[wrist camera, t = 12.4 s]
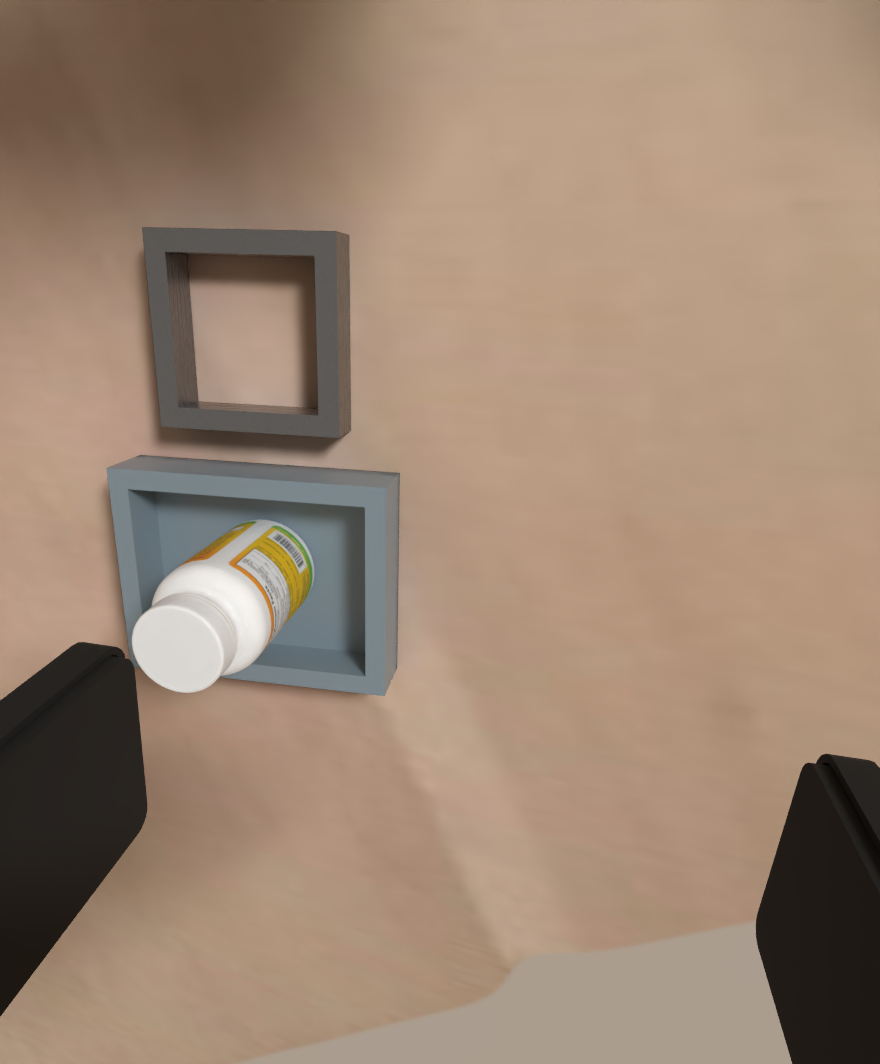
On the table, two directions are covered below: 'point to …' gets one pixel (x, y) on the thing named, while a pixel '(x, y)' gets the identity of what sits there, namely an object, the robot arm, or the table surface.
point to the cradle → (176, 329)
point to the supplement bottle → (223, 606)
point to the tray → (315, 516)
